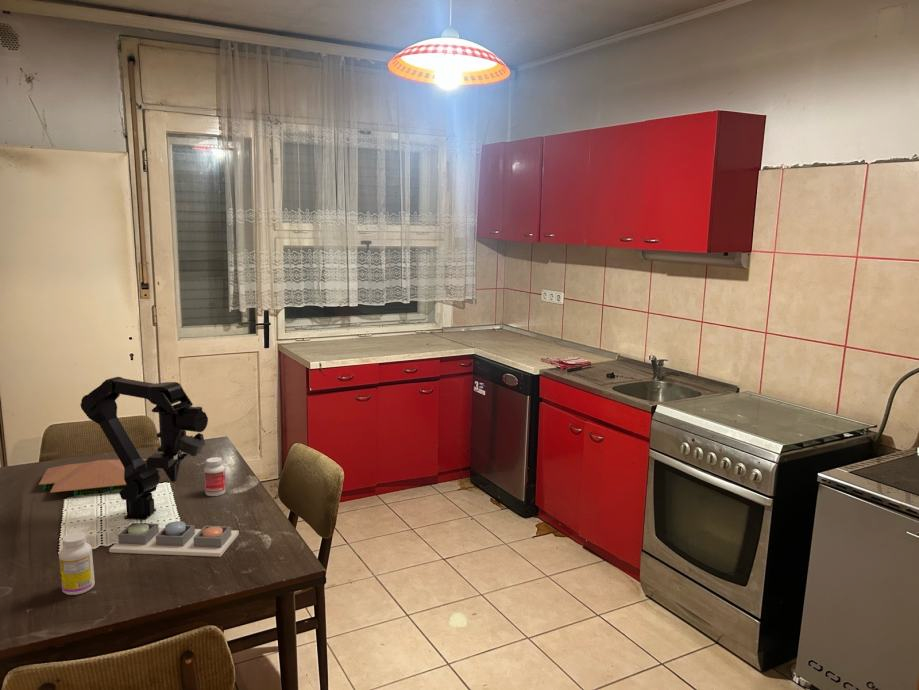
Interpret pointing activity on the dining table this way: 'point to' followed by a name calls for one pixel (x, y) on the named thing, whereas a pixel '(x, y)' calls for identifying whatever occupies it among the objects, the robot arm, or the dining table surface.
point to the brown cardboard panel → (85, 476)
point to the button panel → (174, 542)
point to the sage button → (138, 529)
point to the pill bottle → (214, 477)
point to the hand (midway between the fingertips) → (173, 481)
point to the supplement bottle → (76, 564)
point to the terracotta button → (212, 532)
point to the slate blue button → (175, 528)
